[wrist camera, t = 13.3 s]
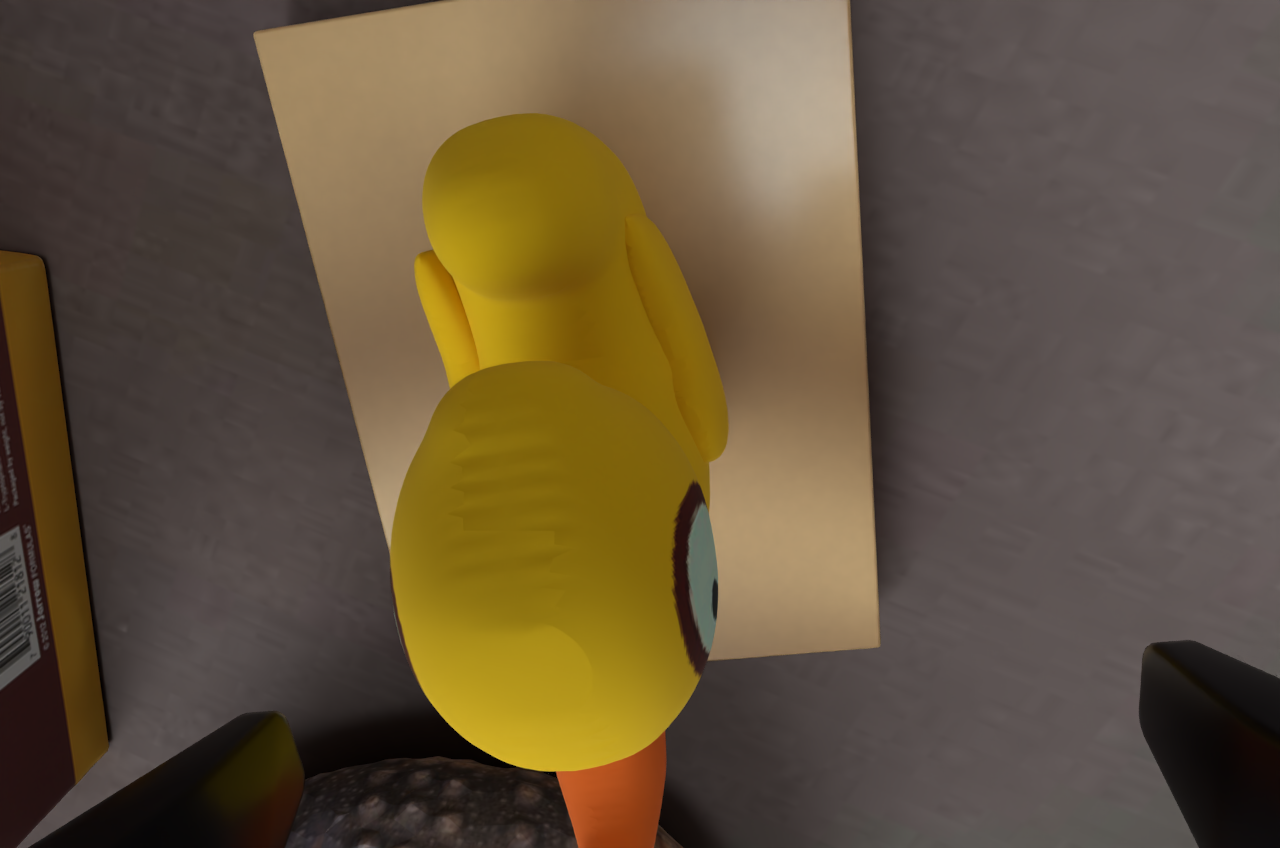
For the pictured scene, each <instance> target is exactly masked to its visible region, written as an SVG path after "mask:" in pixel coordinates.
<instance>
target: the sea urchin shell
mask: <svg viewBox="0 0 1280 848" xmlns="http://www.w3.org/2000/svg"><path fill="white" fill-rule="evenodd" d="M285 848H578V844H577V840H576V837H575V833H574V829H573V826H572V822H571V819H570V816H569V813H568V809H567V806H566V803H565V800H564V797H563V794H562V790H561V787H560V784H559V781H558V778H555V777H552V776H550V775H547V774H545V773H543V772H541V771H537V770H532V769H527V768H522V767H516V768H500V767H494V766H489V765H483V764H481V763H478V762H476V761H473V760H471V759H469V760H453V759H448V758H444V757H440V756H436V757H430V758H423V759H411V758H397V759H386V760H383V761H379V762H376V763H371V764H364V765H358V766H351V767H346V768H342V769H339V770H336V771H333V772H328V773H321V774H318V775H316V776H314V777H311V778H308V779H306V780H305V787H304V792H303V796H302V799H301V802H300V805H299V808H298V811H297V814H296V817H295V820H294V823H293V826H292V829H291V832H290V835H289V838H288V841H287V844H286V847H285ZM654 848H683V847H682V846H681V845H680V844H679V843H678V842H677V841H675V840H674V839H673V838H672V837H671V836H670V835H669V834H668V833H667V832H666V831H665V830H664V829H663V828H662V827H661V826H660V825H659V824H658V829H657V834H656V840H655V845H654Z"/></svg>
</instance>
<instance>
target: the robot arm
mask: <svg viewBox="0 0 1280 848" xmlns="http://www.w3.org/2000/svg"><path fill="white" fill-rule="evenodd" d="M1139 719H1140V724H1141V729H1142V732H1143V735H1144V737H1145V739H1146V741H1147V743H1148V745H1149V748H1150V750H1151V752H1152V754H1153V756H1154V758H1155V760H1156V762H1157V764H1158V766H1159V768H1160V770H1161V772H1162V774H1163V776H1164V778H1165V780H1166V782H1167V784H1168V786H1169V788H1170V790H1171V792H1172V794H1173V796H1174V798H1175V800H1176V802H1177V804H1178V806H1179V808H1180V810H1181V812H1182V814H1183V816H1184V818H1185V820H1186V822H1187V824H1188V826H1189V828H1190V830H1191V832H1192V834H1193V836H1194V838H1195V841H1196V843H1197V845H1198V847H1199V848H1280V678H1277V677H1275V676H1273V675H1271V674H1268V673H1266V672H1264V671H1262V670H1259V669H1257V668H1255V667H1253V666H1250V665H1248V664H1246V663H1243V662H1241V661H1239V660H1237V659H1234V658H1232V657H1230V656H1228V655H1225V654H1223V653H1221V652H1219V651H1216V650H1214V649H1212V648H1210V647H1207V646H1205V645H1203V644H1201V643H1198V642H1196V641H1191V640H1182V641H1169V642H1157V643H1151V644H1150V645H1149V646H1147V647H1146V648H1145V651H1144V653H1143V658H1142V671H1141V686H1140V702H1139ZM304 787H305V773H304V768H303V765H302V762H301V759H300V755H299V752H298V749H297V746H296V743H295V740H294V737H293V734H292V731H291V728H290V725H289V723H288V720H287V718H286V717H285V716H284V715H283V714H282V713H281V712H278V711H265V712H251V713H245V714H242V715H240V716H238V717H236V718H235V719H233V720H232V721H230V722H228V723H227V724H225V725H224V726H222V727H220V728H219V729H217V730H216V731H214V732H212V733H211V734H209V735H208V736H206V737H204V738H203V739H201V740H200V741H198V742H196V743H195V744H193V745H192V746H190V747H188V748H187V749H185V750H184V751H182V752H180V753H179V754H177V755H176V756H174V757H172V758H171V759H169V760H168V761H166V762H164V763H163V764H161V765H160V766H158V767H156V768H155V769H153V770H152V771H150V772H148V773H147V774H145V775H144V776H142V777H140V778H139V779H137V780H136V781H134V782H132V783H131V784H129V785H128V786H126V787H124V788H123V789H121V790H120V791H118V792H116V793H115V794H113V795H112V796H110V797H108V798H107V799H105V800H104V801H102V802H100V803H99V804H97V805H96V806H94V807H92V808H91V809H89V810H88V811H86V812H84V813H83V814H81V815H80V816H78V817H76V818H75V819H73V820H72V821H70V822H68V823H67V824H65V825H64V826H62V827H60V828H59V829H57V830H56V831H54V832H52V833H51V834H49V835H48V836H46V837H44V838H43V839H41V840H40V841H38V842H36V843H35V844H33V845H32V846H30V847H28V848H285V847H286V844H287V841H288V838H289V835H290V832H291V829H292V826H293V823H294V820H295V817H296V814H297V811H298V808H299V805H300V802H301V799H302V796H303V792H304Z"/></svg>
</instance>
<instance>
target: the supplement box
mask: <svg viewBox="0 0 1280 848" xmlns="http://www.w3.org/2000/svg"><path fill="white" fill-rule="evenodd" d="M108 748H109V743H108V737H107V729H106V721H105V713H104V706H103V699H102V692H101V684H100V677H99V670H98V662H97V654H96V647H95V639H94V632H93V624H92V617H91V609H90V602H89V594H88V587H87V579H86V572H85V564H84V556H83V549H82V541H81V534H80V526H79V519H78V511H77V504H76V496H75V489H74V481H73V474H72V466H71V459H70V451H69V443H68V436H67V428H66V421H65V413H64V405H63V398H62V390H61V383H60V375H59V367H58V360H57V352H56V345H55V337H54V329H53V322H52V314H51V307H50V299H49V291H48V284H47V278H46V272H45V266H44V263H43V260H42V259H41V258H40V257H39V256H36V255H30V254H25V253H19V252H10V251H2V250H0V848H16V847H17V846H18V845H19V844H20V843H21V842H22V841H23V840H24V839H25V837H26V836H27V835H28V834H29V833H30V832H31V831H32V830H33V829H34V828H35V827H36V826H37V824H38V823H39V822H40V821H41V820H42V819H43V818H44V817H45V816H46V815H47V814H48V813H49V812H50V811H51V810H52V809H53V808H54V807H55V806H56V804H57V803H58V802H59V801H60V800H61V799H62V798H63V797H64V796H65V795H66V794H67V793H68V792H69V791H70V790H71V789H72V788H73V787H74V786H75V785H76V784H77V783H78V782H79V781H80V780H81V779H82V778H83V776H84V775H85V774H86V773H87V772H88V771H89V769H90V768H91V767H92V766H93V765H94V764H95V763H96V762H97V761H98V760H99V759H100V758H101V757H102V756H103V755H104V754H105V753H106V752H107V751H108Z"/></svg>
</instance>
